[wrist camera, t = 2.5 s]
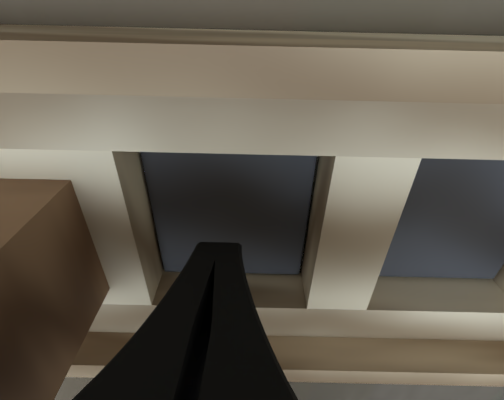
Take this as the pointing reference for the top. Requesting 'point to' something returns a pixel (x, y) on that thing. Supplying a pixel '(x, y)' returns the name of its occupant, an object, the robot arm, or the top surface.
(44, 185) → the walnut block
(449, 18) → the top surface
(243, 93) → the trap track
